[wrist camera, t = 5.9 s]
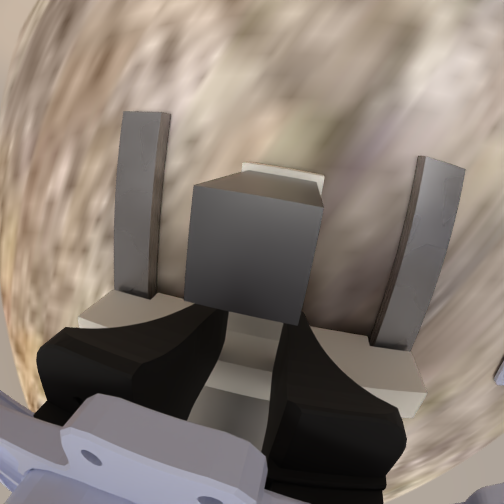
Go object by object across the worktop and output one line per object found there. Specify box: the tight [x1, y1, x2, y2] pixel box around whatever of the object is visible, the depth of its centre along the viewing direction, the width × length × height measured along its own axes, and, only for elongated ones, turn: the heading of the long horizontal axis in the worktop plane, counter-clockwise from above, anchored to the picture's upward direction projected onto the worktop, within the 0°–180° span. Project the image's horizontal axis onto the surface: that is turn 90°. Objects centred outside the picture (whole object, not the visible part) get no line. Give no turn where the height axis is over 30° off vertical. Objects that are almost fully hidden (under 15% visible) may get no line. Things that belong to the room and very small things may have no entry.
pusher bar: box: [78, 162, 427, 418], centre depth 11 cm, size 15×8×8 cm, turn 81°
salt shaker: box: [187, 385, 270, 452], centre depth 11 cm, size 6×6×13 cm
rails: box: [114, 111, 466, 352], centre depth 15 cm, size 15×17×1 cm
